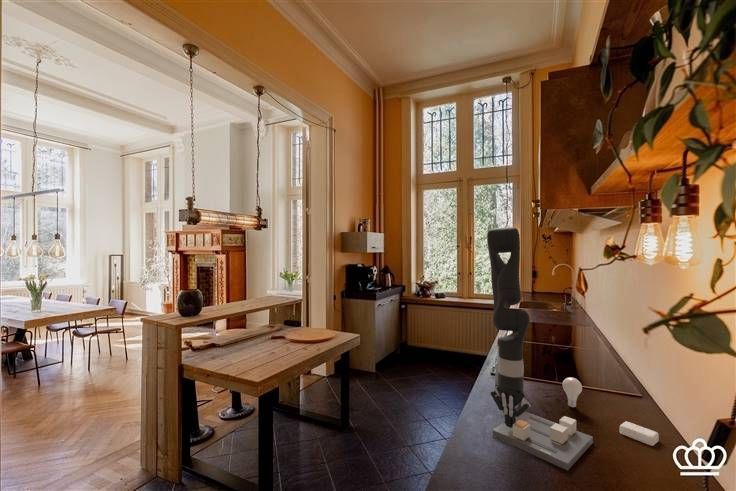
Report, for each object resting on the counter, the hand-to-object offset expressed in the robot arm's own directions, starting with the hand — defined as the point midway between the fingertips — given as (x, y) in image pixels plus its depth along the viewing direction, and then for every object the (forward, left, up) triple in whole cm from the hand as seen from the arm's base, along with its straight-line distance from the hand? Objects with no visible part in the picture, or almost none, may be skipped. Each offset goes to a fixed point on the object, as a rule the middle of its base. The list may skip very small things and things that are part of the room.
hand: (510, 426), depth 109 cm
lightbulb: (+5, +38, -4) cm, 39 cm away
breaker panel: (+7, +7, -4) cm, 11 cm away
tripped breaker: (+3, 0, -2) cm, 4 cm away
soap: (+26, +33, -4) cm, 42 cm away
